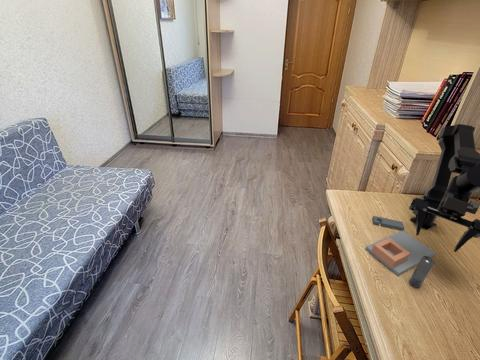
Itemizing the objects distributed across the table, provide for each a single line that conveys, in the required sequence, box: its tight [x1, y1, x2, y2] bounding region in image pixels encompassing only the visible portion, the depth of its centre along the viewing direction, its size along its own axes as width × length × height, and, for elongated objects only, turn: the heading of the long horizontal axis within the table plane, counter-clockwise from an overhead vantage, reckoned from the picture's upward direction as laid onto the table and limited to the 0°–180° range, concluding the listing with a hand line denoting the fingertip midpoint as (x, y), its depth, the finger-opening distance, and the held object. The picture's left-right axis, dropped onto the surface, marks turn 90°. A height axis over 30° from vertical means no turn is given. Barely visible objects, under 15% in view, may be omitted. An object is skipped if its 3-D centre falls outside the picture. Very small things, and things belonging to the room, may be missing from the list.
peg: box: [408, 256, 436, 289], centre depth 74 cm, size 3×3×10 cm
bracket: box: [371, 215, 405, 232], centre depth 99 cm, size 4×10×2 cm, turn 72°
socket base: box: [364, 230, 437, 277], centre depth 86 cm, size 19×12×4 cm, turn 117°
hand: (435, 243), depth 74 cm, fingers open, 9 cm apart
